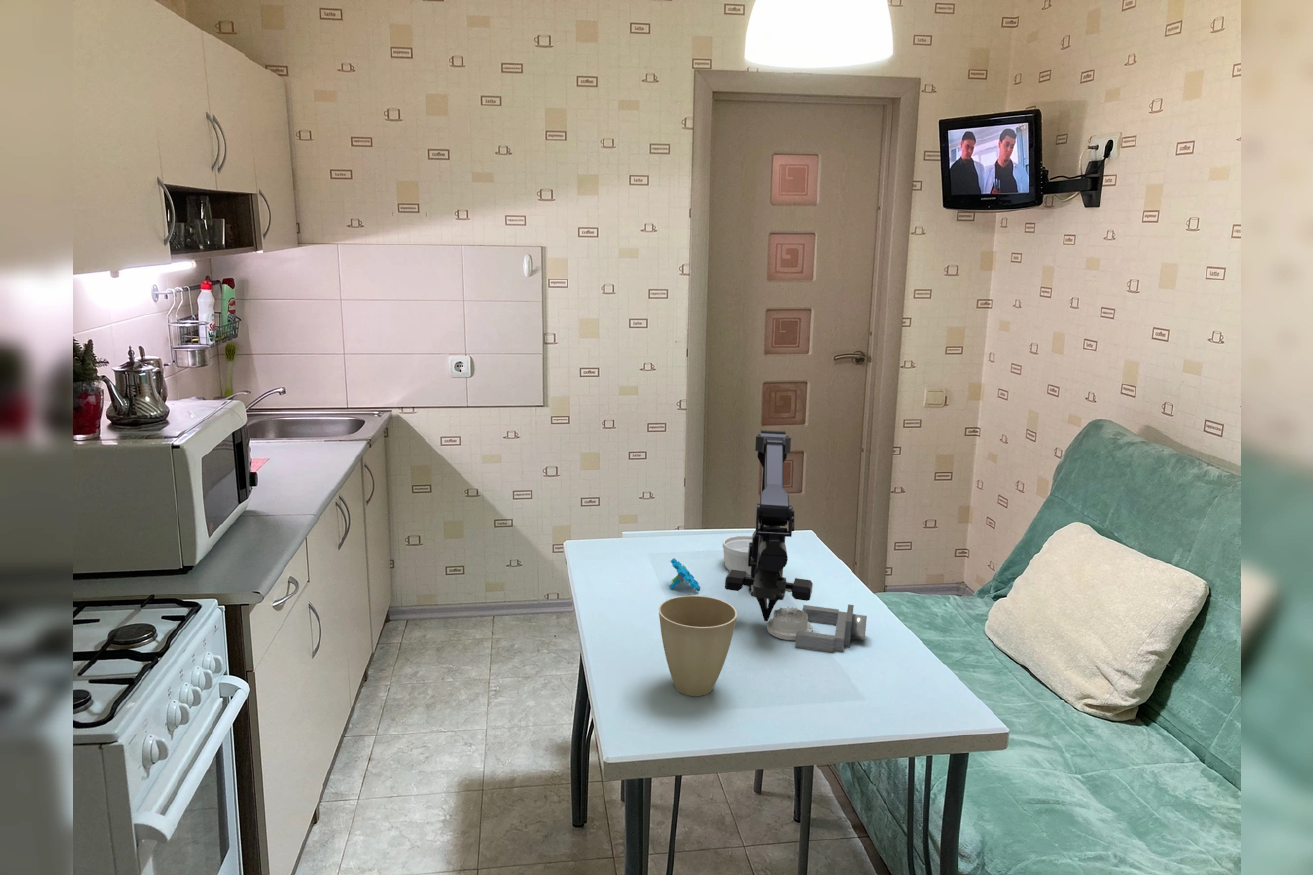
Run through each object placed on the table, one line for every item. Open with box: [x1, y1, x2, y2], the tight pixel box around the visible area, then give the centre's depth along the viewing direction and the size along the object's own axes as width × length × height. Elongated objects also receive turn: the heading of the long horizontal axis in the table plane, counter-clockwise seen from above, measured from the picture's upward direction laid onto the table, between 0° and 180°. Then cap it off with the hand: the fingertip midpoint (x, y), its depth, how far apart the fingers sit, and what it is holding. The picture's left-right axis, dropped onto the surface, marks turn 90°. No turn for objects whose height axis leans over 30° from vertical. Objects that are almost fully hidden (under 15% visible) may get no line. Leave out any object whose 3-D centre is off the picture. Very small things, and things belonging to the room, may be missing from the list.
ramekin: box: [722, 534, 752, 577], centre depth 238 cm, size 13×13×7 cm
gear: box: [669, 557, 701, 592], centre depth 224 cm, size 11×6×10 cm
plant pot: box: [658, 595, 738, 697], centre depth 176 cm, size 15×15×16 cm
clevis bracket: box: [794, 604, 868, 653], centre depth 200 cm, size 14×16×6 cm
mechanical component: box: [766, 606, 814, 641], centre depth 202 cm, size 10×4×10 cm
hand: (766, 620), depth 204 cm, fingers closed
